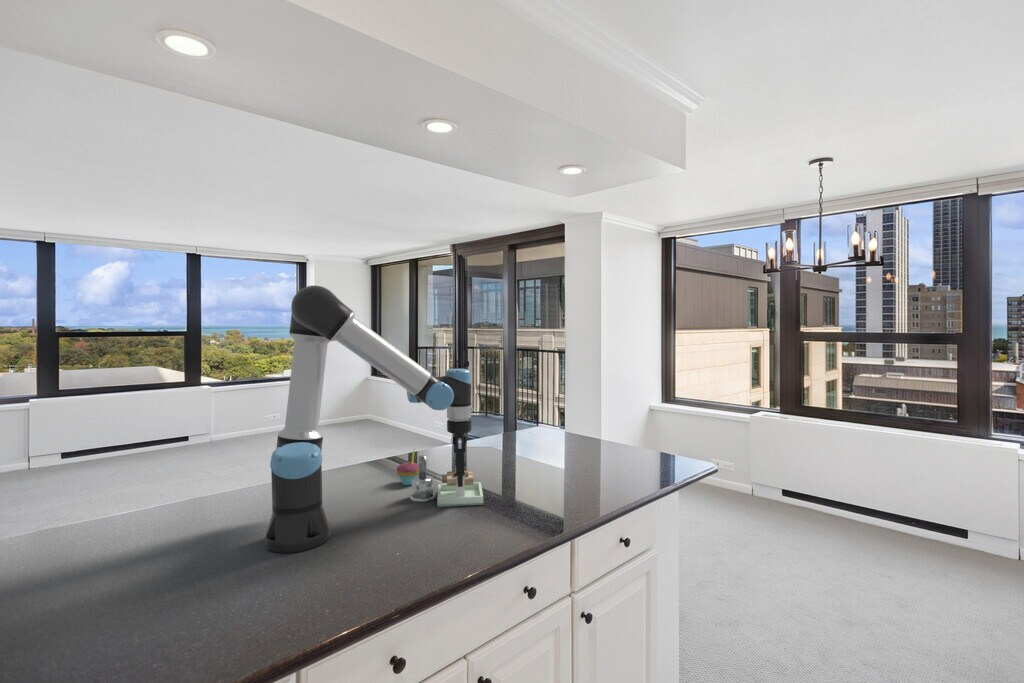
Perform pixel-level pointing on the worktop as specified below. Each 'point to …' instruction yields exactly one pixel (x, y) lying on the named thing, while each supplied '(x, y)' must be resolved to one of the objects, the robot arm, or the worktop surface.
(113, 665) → the worktop surface
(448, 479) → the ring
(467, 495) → the tray
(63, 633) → the worktop surface
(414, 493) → the silver bell-shaped piece
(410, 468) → the cupcake
